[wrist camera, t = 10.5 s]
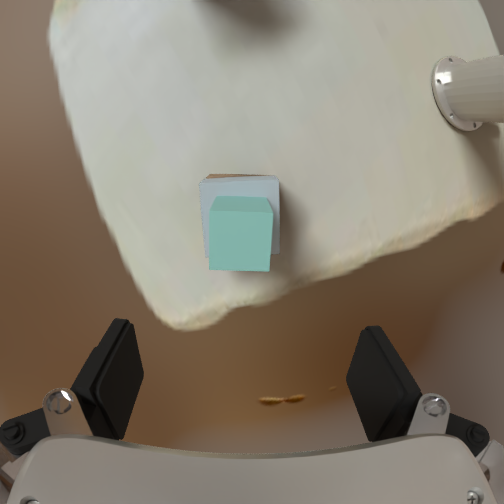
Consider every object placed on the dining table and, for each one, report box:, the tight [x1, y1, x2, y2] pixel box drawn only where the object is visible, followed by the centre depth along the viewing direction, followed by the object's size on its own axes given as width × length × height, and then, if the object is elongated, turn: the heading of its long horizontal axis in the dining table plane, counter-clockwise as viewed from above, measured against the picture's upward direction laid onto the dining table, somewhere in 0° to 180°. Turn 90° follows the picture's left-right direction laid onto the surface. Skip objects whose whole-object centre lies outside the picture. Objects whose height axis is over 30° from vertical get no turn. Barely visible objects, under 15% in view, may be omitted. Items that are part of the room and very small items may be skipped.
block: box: [209, 196, 273, 271], centre depth 27 cm, size 5×5×7 cm
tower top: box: [199, 175, 280, 257], centre depth 32 cm, size 8×8×4 cm
